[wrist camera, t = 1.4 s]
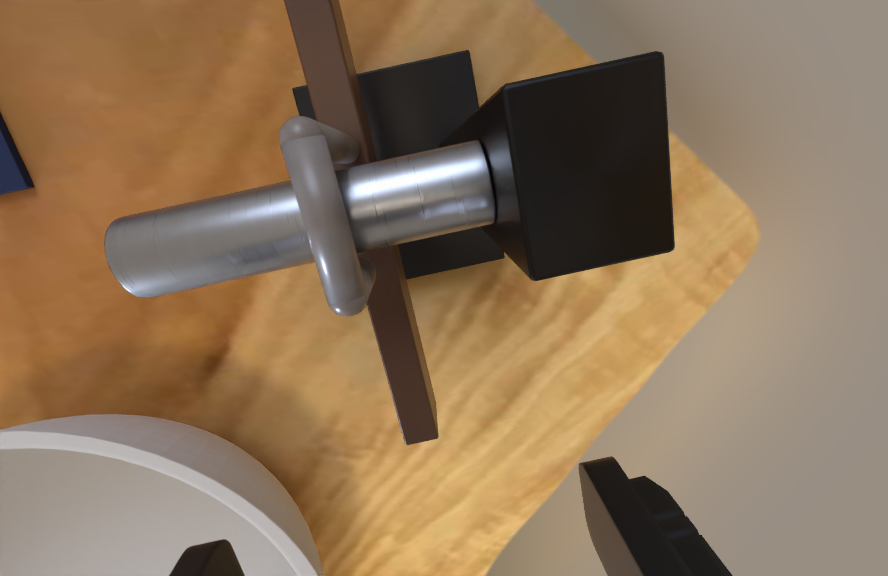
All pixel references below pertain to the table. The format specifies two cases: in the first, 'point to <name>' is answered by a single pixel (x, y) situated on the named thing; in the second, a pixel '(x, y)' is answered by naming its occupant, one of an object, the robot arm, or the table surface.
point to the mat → (11, 165)
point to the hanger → (321, 206)
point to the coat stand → (449, 182)
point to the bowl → (139, 500)
